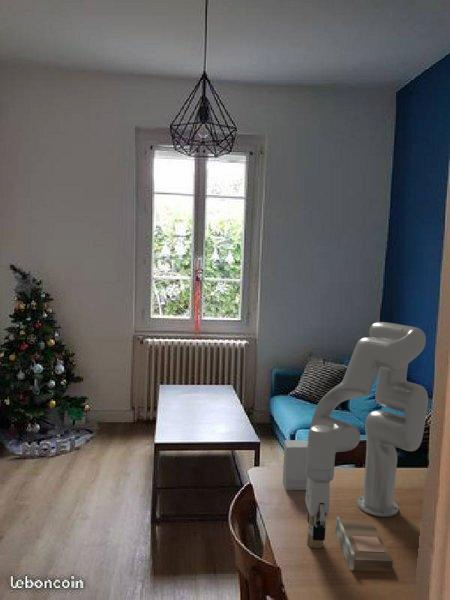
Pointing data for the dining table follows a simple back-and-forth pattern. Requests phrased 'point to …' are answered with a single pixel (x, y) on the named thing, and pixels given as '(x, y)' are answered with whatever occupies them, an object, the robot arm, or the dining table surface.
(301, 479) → the skincare box
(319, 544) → the sprinkles bottle
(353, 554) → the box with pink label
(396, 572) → the dining table surface
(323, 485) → the robot arm
